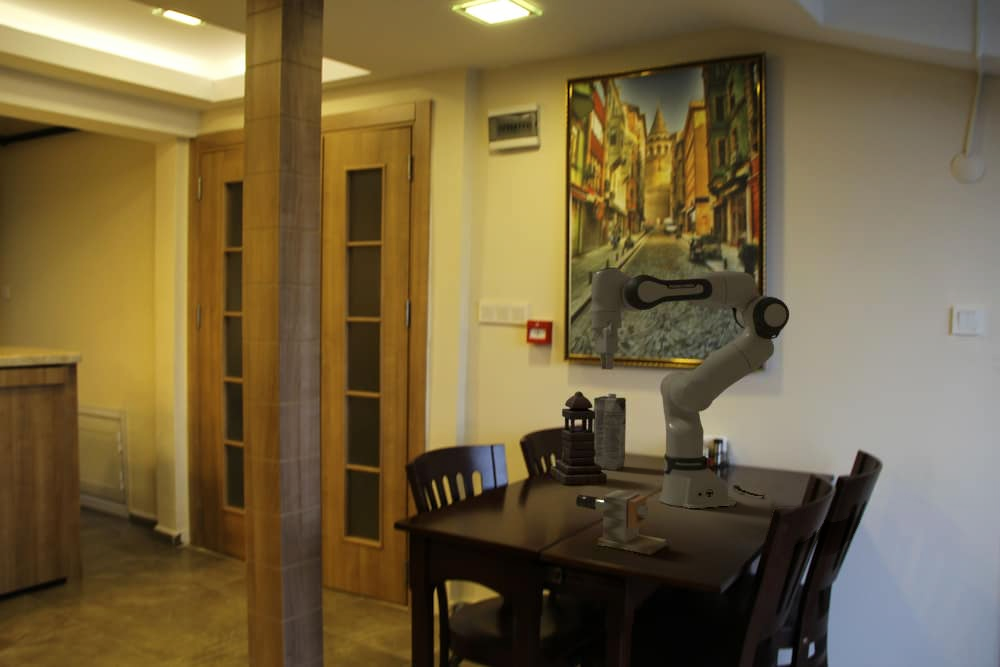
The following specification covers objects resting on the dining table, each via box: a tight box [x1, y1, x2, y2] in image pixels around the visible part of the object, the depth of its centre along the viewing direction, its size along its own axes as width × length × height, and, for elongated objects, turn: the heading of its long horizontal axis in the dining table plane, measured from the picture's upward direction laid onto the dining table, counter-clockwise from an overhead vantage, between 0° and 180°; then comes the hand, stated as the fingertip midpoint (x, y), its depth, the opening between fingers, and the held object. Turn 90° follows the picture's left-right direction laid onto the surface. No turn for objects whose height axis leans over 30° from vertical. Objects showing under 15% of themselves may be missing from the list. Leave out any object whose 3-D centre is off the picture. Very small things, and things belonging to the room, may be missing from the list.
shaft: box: [575, 494, 649, 519], centre depth 205 cm, size 18×3×3 cm, turn 56°
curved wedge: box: [732, 484, 763, 496], centre depth 259 cm, size 8×14×2 cm, turn 179°
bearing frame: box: [597, 489, 667, 554], centre depth 202 cm, size 14×10×12 cm
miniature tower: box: [549, 390, 608, 486], centre depth 276 cm, size 16×15×30 cm
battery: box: [593, 393, 627, 471], centre depth 296 cm, size 9×10×27 cm
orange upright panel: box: [628, 495, 647, 531], centre depth 201 cm, size 2×7×7 cm, turn 146°
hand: (607, 369), depth 241 cm, fingers open, 8 cm apart
